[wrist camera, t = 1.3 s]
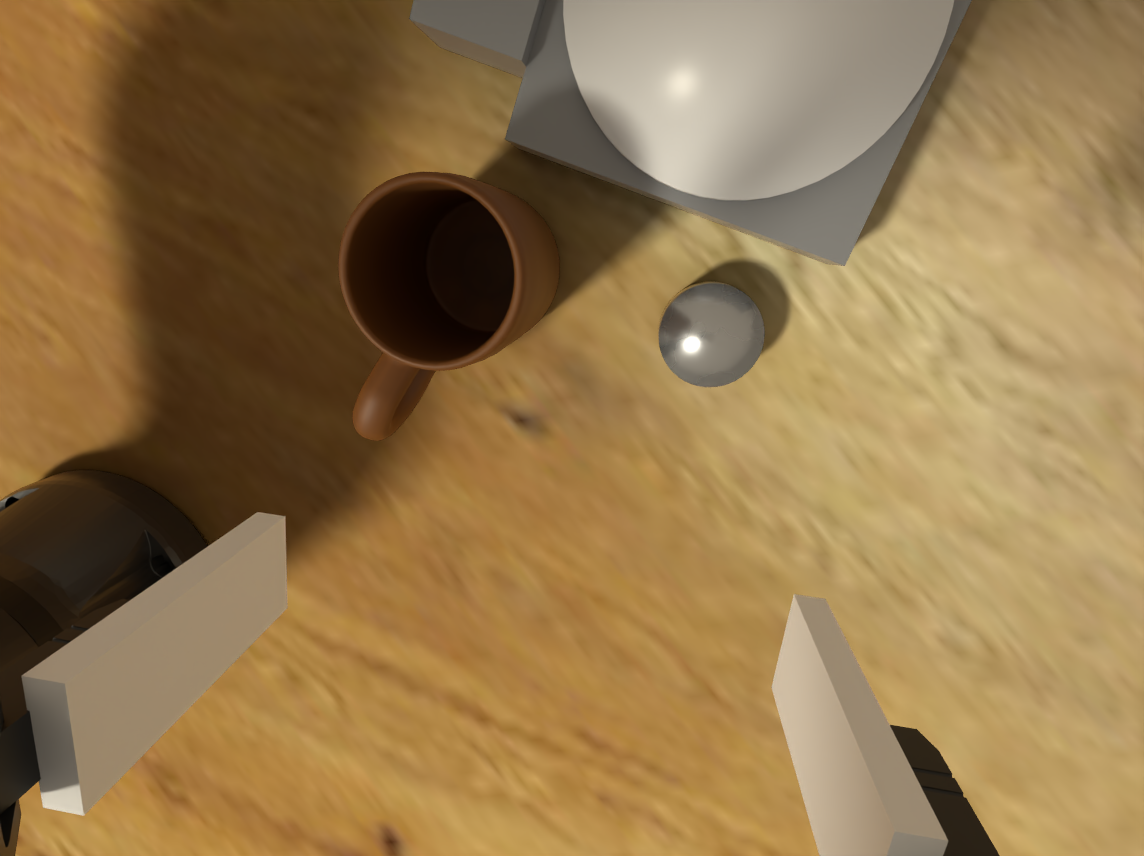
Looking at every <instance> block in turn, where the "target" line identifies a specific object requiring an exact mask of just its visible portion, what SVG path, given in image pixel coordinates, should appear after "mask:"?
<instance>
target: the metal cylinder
mask: <svg viewBox="0 0 1144 856" xmlns="http://www.w3.org/2000/svg"><path fill="white" fill-rule="evenodd" d="M764 336H765V332H764V323H763V319H762V316H761V313H760V311H759V309H758V308H757V306H756V305H755V303H754V302H753V301H752V300H751V298H750V297H748V296H747V295H746V294H745V293H743V292H742V291H740V290H739V289H737V288H735V287H733V286H731V285H728V284H725V283H722V282H716V281H707V282H700V283H696V284H693V285H691V286H688V287H686V288H685V289H683V290H681V291H680V292H679V293H677V294H676V295H675V296H674V297H673V298H672V299H671V300H670V302H669V303H668V304H667V306H666V308H665V309H664V312H663V314H662V316H661V319H660V324H659V345H660V350H661V353H662V356H663V358H664V360H665V362H666V364H667V365H668V367H669V368H670V369H671V370H672V372H673V373H674V374H676V375H677V376H678V377H679V378H681V379H682V380H684V381H686V382H688V383H690V384H693V385H696V386H702V387H718V386H723V385H726V384H729V383H731V382H733V381H736V380H737V379H739V378H740V377H742V376H743V375H744V374H746V373H747V372H748V371H749V370H750V369H751V368H752V367H753V365H754V364H755V362H756V361H757V359H758V357H759V355H760V353H761V350H762V348H763V343H764Z"/></svg>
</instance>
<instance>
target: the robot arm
mask: <svg viewBox="0 0 1144 856" xmlns="http://www.w3.org/2000/svg"><path fill="white" fill-rule="evenodd" d="M286 609H287V567H286V521H285V516H280V515H274V514H267V513H261V512H257V513H255V514H254V515H253V516H251V517H250V518H248V519H247V520H245V521H244V522H242V523H241V524H240V525H238V526H237V527H235V528H234V529H232V530H231V531H229V532H228V533H227V534H225V535H224V536H222V537H221V538H219V539H218V540H216V541H215V542H214V543H212V544H211V545H209V546H208V547H207V545H206V543H205V542H204V540H203V539H202V537H201V536H200V534H199V533H198V531H197V530H196V529H195V528H194V526H193V525H192V524H191V523H190V522H189V520H188V519H187V518H186V517H185V516H184V515H183V514H182V513H181V512H180V511H179V510H178V509H177V508H176V507H174V506H173V505H172V504H171V503H170V502H168V501H167V500H166V499H164V498H163V497H162V496H160V495H159V494H157V493H156V492H154V491H153V490H151V489H149V488H147V487H146V486H144V485H142V484H140V483H138V482H135V481H133V480H131V479H128V478H125V477H123V476H120V475H116V474H112V473H108V472H103V471H95V470H75V471H68V472H63V473H59V474H56V475H53V476H51V477H48V478H45V479H43V480H40V481H38V482H35V483H33V484H30V485H27V486H25V487H22V488H20V489H18V490H16V491H14V492H13V493H11V494H9V495H8V496H6V497H4V498H3V499H2V500H0V856H15V852H16V846H17V839H18V832H19V826H20V819H21V810H20V805H19V798H20V797H21V796H22V795H23V794H25V793H26V792H27V791H28V790H29V789H30V788H31V787H32V786H34V785H35V784H36V783H37V782H38V781H39V785H40V791H41V797H42V803H43V808H48V809H53V810H58V811H63V812H68V813H73V814H78V815H85V814H86V813H87V812H88V811H89V810H90V809H91V808H92V807H93V806H94V805H95V804H96V803H97V802H98V801H99V800H100V799H101V798H102V797H103V796H104V795H105V794H106V793H107V791H108V790H109V789H110V788H111V787H112V786H113V785H114V784H115V783H116V782H117V781H118V780H119V779H120V778H121V777H122V776H123V775H124V774H125V773H126V772H127V771H128V770H129V769H130V768H131V767H132V766H133V765H134V764H135V763H136V762H137V761H138V760H139V759H140V758H141V757H142V756H143V755H144V754H145V753H146V752H147V751H148V750H149V749H150V748H151V747H152V746H153V745H154V744H155V743H156V742H157V740H158V739H159V738H160V737H161V736H162V735H163V734H164V733H165V732H166V731H167V730H168V729H169V728H170V727H171V726H172V725H173V724H174V723H175V722H176V721H177V720H178V719H179V718H180V717H181V716H182V715H183V714H184V713H185V712H186V711H187V710H188V709H189V708H190V707H191V706H192V705H193V704H194V703H195V702H196V701H197V700H198V699H199V698H200V697H201V696H202V695H203V694H204V693H205V692H206V691H207V689H208V688H209V687H210V686H211V685H212V684H213V683H214V682H215V681H216V680H217V679H218V678H219V677H220V676H221V675H222V674H223V673H224V672H225V671H226V670H227V669H228V668H229V667H230V666H231V665H232V664H233V663H234V662H235V661H236V660H237V659H238V658H239V657H240V656H241V655H242V654H243V653H244V652H245V651H246V650H247V649H248V648H249V647H250V646H251V645H252V644H253V643H254V642H255V641H256V640H257V638H258V637H259V636H260V635H261V634H262V633H263V632H264V631H265V630H266V629H267V628H268V627H269V626H270V625H271V624H272V623H273V622H274V621H275V620H276V619H277V618H278V617H279V616H280V615H281V614H282V613H283V612H284V611H285V610H286ZM772 691H773V694H774V698H775V701H776V705H777V708H778V712H779V715H780V719H781V722H782V726H783V729H784V733H785V736H786V740H787V743H788V747H789V750H790V754H791V757H792V761H793V764H794V768H795V771H796V775H797V778H798V782H799V785H800V789H801V792H802V796H803V799H804V803H805V806H806V810H807V813H808V817H809V820H810V824H811V827H812V831H813V834H814V838H815V841H816V845H817V848H818V852H819V855H820V856H999V854H998V852H997V850H996V849H995V847H994V845H993V844H992V842H991V840H990V838H989V837H988V835H987V833H986V831H985V830H984V828H983V826H982V825H981V823H980V821H979V819H978V818H977V816H976V814H975V812H974V811H973V809H972V807H971V806H970V804H969V802H968V800H967V799H966V798H964V797H963V792H962V790H961V788H960V787H959V785H958V783H957V781H956V780H955V778H952V773H951V771H950V769H949V768H948V766H947V764H946V762H945V761H944V759H943V757H942V756H941V754H940V752H939V751H938V750H937V749H936V748H935V747H934V746H933V745H932V744H931V743H930V742H929V741H928V740H927V739H926V738H925V737H924V736H923V735H922V734H921V733H920V732H919V731H918V730H917V729H912V728H906V727H900V726H894V725H889V723H888V721H887V719H886V717H885V715H884V713H883V711H882V709H881V707H880V705H879V703H878V701H877V699H876V697H875V695H874V693H873V691H872V689H871V687H870V686H869V684H868V682H867V680H866V678H865V676H864V674H863V672H862V670H861V668H860V666H859V664H858V662H857V660H856V658H855V656H854V654H853V652H852V650H851V648H850V646H849V644H848V642H847V640H846V638H845V636H844V634H843V632H842V630H841V628H840V626H839V624H838V623H837V621H836V619H835V617H834V615H833V613H832V611H831V609H830V607H829V605H828V603H827V601H826V599H822V598H816V597H809V596H803V595H796V594H794V596H793V600H792V604H791V609H790V613H789V617H788V621H787V625H786V629H785V634H784V638H783V642H782V646H781V650H780V655H779V659H778V663H777V667H776V671H775V675H774V680H773V684H772Z"/></svg>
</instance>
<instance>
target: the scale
mask: <svg viewBox="0 0 1144 856" xmlns="http://www.w3.org/2000/svg"><path fill="white" fill-rule="evenodd" d="M971 1H972V0H414V1H413V5H412V9H411V14H410V18H409V19H410V20H411V21H412V22H413V23H414V24H415V25H416V26H417V27H418V28H419V29H421V30H422V31H423V32H424V33H425V34H426V35H427V36H428V37H429V38H430V39H431V40H433V41H434V42H435V43H436V44H437V45H438V46H439V47H440V48H443V49H446V50H448V51H451V52H454V53H456V54H459V55H462V56H465V57H467V58H470V59H473V60H475V61H478V62H481V63H483V64H486V65H489V66H491V67H494V68H497V69H500V70H502V71H505V72H508V73H510V74H513V75H516V76H518V77H521V78H523V79H522V83H521V86H520V89H519V93H518V96H517V100H516V103H515V106H514V110H513V113H512V117H511V120H510V123H509V127H508V130H507V134H506V137H505V140H507V141H508V142H510V143H511V144H513V145H514V146H515V147H517V148H518V149H521V150H523V151H526V152H529V153H531V154H534V155H537V156H539V157H542V158H545V159H547V160H550V161H553V162H556V163H558V164H561V165H564V166H566V167H569V168H572V169H574V170H577V171H580V172H582V173H585V174H588V175H590V176H593V177H596V178H598V179H601V180H604V181H606V182H609V183H612V184H614V185H617V186H620V187H622V188H625V189H628V190H630V191H633V192H636V193H639V194H641V195H644V196H647V197H649V198H652V199H655V200H657V201H660V202H663V203H665V204H668V205H671V206H673V207H676V208H679V209H681V210H684V211H687V212H689V213H692V214H695V215H697V216H700V217H703V218H705V219H708V220H711V221H713V222H716V223H719V224H721V225H724V226H727V227H730V228H732V229H735V230H738V231H740V232H743V233H746V234H748V235H751V236H754V237H756V238H759V239H762V240H764V241H767V242H770V243H772V244H775V245H778V246H780V247H783V248H786V249H788V250H791V251H794V252H796V253H799V254H802V255H804V256H807V257H810V258H812V259H815V260H818V261H821V262H823V263H826V264H832V265H841V266H845V264H846V262H847V260H848V258H849V256H850V254H851V252H852V250H853V248H854V246H855V243H856V241H857V239H858V237H859V235H860V233H861V231H862V229H863V227H864V225H865V223H866V220H867V218H868V216H869V214H870V212H871V210H872V208H873V206H874V204H875V202H876V199H877V197H878V195H879V193H880V191H881V189H882V187H883V185H884V183H885V181H886V179H887V176H888V174H889V172H890V170H891V168H892V166H893V164H894V162H895V160H896V158H897V156H898V153H899V151H900V149H901V147H902V145H903V143H904V141H905V139H906V137H907V135H908V133H909V130H910V128H911V126H912V124H913V122H914V120H915V118H916V116H917V114H918V112H919V110H920V107H921V105H922V103H923V101H924V99H925V97H926V95H927V93H928V91H929V89H930V87H931V84H932V82H933V80H934V78H935V76H936V74H937V72H938V70H939V68H940V66H941V64H942V61H943V59H944V57H945V55H946V53H947V51H948V49H949V47H950V45H951V43H952V41H953V38H954V36H955V34H956V32H957V30H958V28H959V26H960V24H961V22H962V20H963V18H964V15H965V13H966V11H967V9H968V7H969V5H970V3H971Z"/></svg>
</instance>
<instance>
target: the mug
mask: <svg viewBox="0 0 1144 856" xmlns="http://www.w3.org/2000/svg"><path fill="white" fill-rule="evenodd" d="M338 269H339V280H340V286H341V290H342V294H343V297H344V300H345V303H346V305H347V308H348V310H349V312H350V314H351V316H352V318H353V319H354V321H355V323H356V324H357V326H358V327H359V328H360V330H361V331H362V333H363V334H364V335H365V336H366V337H367V338H368V339H369V340H370V341H371V342H372V343H373V344H374V345H375V346H376V347H377V348H378V349H380V350H381V351H382V352H383V353H382V355H381V357H380V358H379V360H378V361H377V363H376V365H375V366H374V368H373V370H372V371H371V373H370V375H369V376H368V378H367V380H366V381H365V383H364V385H363V387H362V389H361V391H360V393H359V395H358V398H357V400H356V403H355V406H354V410H353V413H352V417H353V425H354V428H355V429H356V431H357V433H359V434H360V435H361V436H362V437H364V438H367V439H370V440H373V441H376V440H383V439H385V438H387V437H389V436H390V435H392V434H393V433H394V432H395V431H396V430H397V429H398V428H399V427H400V426H401V425H402V424H403V423H404V421H405V420H406V419H407V417H408V416H409V415H410V413H411V412H412V411H413V409H414V408H415V406H416V405H417V403H418V402H419V400H420V398H421V397H422V395H423V393H424V392H425V390H426V388H427V386H428V384H429V382H430V380H431V378H432V376H433V374H434V373H435V371H442V370H452V369H457V368H462V367H465V366H468V365H471V364H474V363H476V362H479V361H482V360H485V359H487V358H488V357H490V356H492V355H494V354H496V353H498V352H499V351H501V350H502V349H503V348H505V347H506V346H508V345H509V344H511V343H512V342H514V341H515V340H516V339H518V338H519V337H521V336H522V335H523V334H524V333H526V332H527V331H528V330H530V329H531V328H532V327H533V326H534V325H535V324H536V323H538V322H539V320H540V319H541V318H542V317H543V316H544V314H545V313H546V312H547V310H548V308H549V307H550V305H551V303H552V301H553V299H554V296H555V293H556V290H557V287H558V281H559V272H560V264H559V255H558V250H557V246H556V243H555V240H554V237H553V235H552V233H551V231H550V229H549V227H548V225H547V224H546V222H545V221H544V219H543V218H542V217H541V216H540V215H539V214H538V212H537V211H536V210H535V209H533V208H532V207H531V206H530V205H529V204H528V203H526V202H525V201H523V200H522V199H520V198H519V197H517V196H515V195H513V194H511V193H509V192H506V191H504V190H501V189H499V188H497V187H494V186H491V185H489V184H486V183H483V182H480V181H478V180H475V179H472V178H469V177H466V176H462V175H456V174H451V173H439V172H416V173H409V174H405V175H401V176H398V177H395V178H393V179H391V180H388V181H386V182H384V183H383V184H381V185H379V186H378V187H376V188H375V189H374V190H373V191H371V192H370V193H369V194H368V195H367V196H366V197H365V198H364V199H363V200H362V201H361V202H360V203H359V205H358V206H357V207H356V209H355V210H354V212H353V213H352V215H351V217H350V219H349V221H348V223H347V225H346V227H345V230H344V233H343V236H342V239H341V244H340V250H339V261H338Z"/></svg>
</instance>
